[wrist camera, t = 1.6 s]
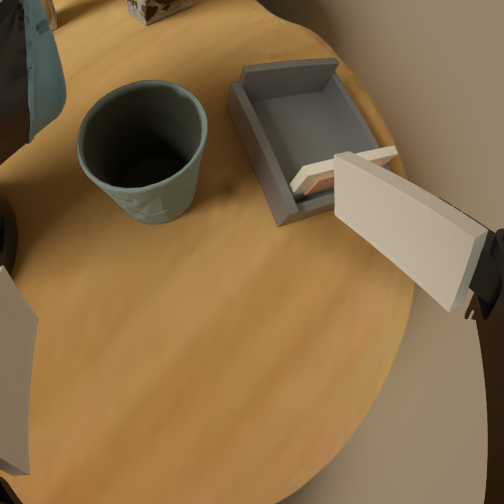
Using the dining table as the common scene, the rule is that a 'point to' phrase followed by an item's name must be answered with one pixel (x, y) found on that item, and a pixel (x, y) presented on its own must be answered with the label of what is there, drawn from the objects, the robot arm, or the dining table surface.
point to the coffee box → (155, 9)
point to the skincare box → (50, 14)
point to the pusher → (331, 173)
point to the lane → (295, 128)
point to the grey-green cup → (145, 148)
